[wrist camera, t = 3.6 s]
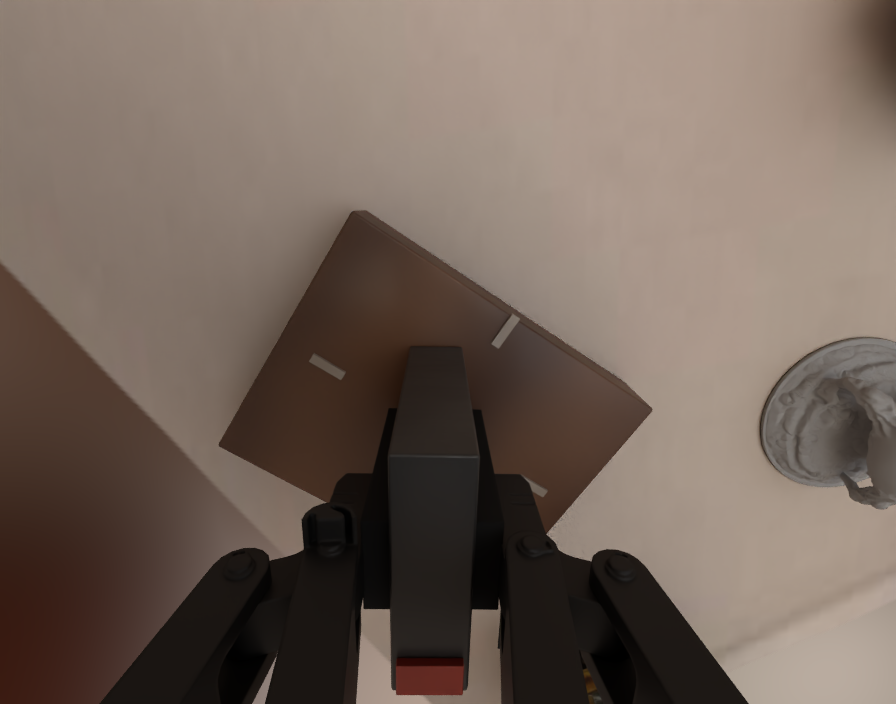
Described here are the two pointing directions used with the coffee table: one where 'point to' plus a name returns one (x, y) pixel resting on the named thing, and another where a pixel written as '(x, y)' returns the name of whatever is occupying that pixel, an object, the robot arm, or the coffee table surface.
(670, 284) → the coffee table surface
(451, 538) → the dark grey block
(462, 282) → the block
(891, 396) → the miniature
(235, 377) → the coffee table surface
